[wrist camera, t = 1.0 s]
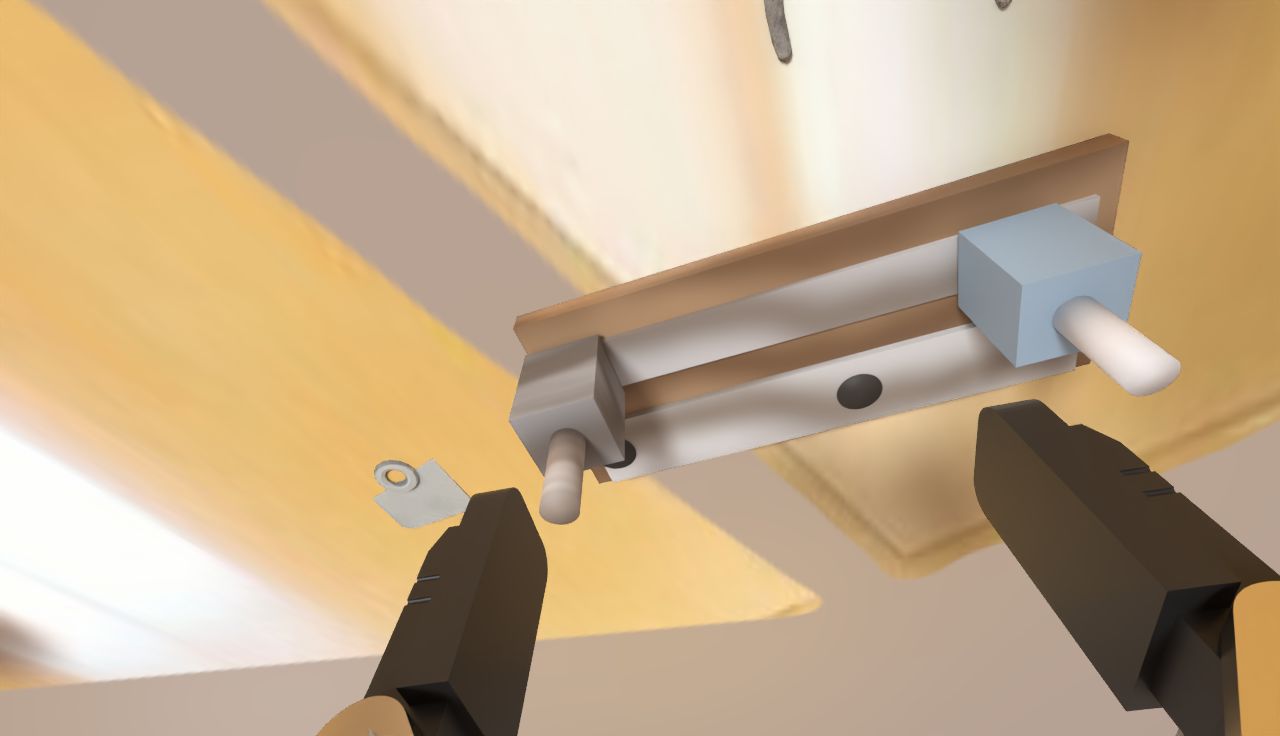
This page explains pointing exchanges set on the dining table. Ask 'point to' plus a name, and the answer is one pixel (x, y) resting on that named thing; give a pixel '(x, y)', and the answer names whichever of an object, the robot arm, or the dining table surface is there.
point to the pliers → (781, 33)
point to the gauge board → (785, 333)
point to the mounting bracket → (419, 494)
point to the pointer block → (1059, 295)
